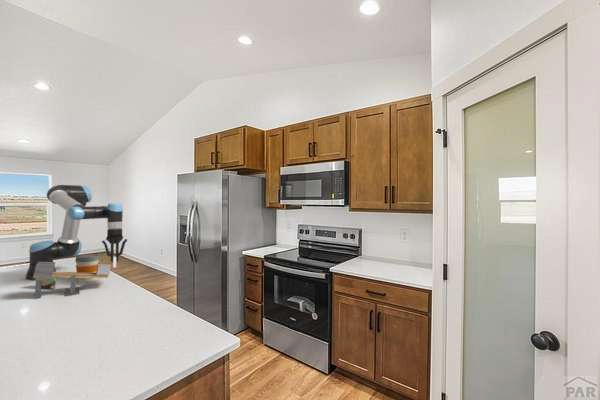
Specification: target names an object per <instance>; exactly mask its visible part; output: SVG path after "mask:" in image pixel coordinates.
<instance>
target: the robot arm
mask: <svg viewBox="0 0 600 400" xmlns="http://www.w3.org/2000/svg"><path fill="white" fill-rule="evenodd" d="M46 198H47V200H48V201H49V202H50V203H52V204H54V205H58V206H59V207H61V208H62V209H63V210H65V214H64V215H65V216H64V219H63V220H64V221H63V226H62V231H61V236H59V237H58V238H57V241H54V240H44V241H43V240H42V241H38V242H34V243H32V244H31V245H30V246H29V251H28V253H29V260H28V261H29V264H28V265H29V267H28V269H27V271H26V274H25V280H36V278H33V276H34V272H35V268H36V264H37V263H38V262H54V260H57V259H58V260H59V259H64V258H71V257H77V256H79V254H80V253H81V251H82V246H83V245H82V241H81V240H80V239H79V237H78V234H79V228H80V222H81V221H82V220H95V219H96V220H97V219H107V221H106V222H107V223H106V224H107V227H106V228H107V232H106V233H107V236H106V238H105V239H103V240H101V242H102V244H103V245H104V249H105V252H106V256H107V257H110V262H111V263H112V268H117V262H119V257H120V256H122V255H123V252H124V248H125V246H126V243H127V242H128V239H127V238H124V236H123V210H124V209H123V204H122V203H118V202H117V203H108V204H107V206H106V205H101V206H99V205H97V206H87V203H90V202H91V201H92V198H93V197H92V192H91V190H90V187H89V186H86V185H74V184H67V185H66V184H58V185H54V186H52V187H50V188H49V189H48V190H47V192H46ZM121 242H122V243H121ZM108 243H109V244H110V250H109V247H108V245H107V244H108ZM120 243H121V247H120V249H119V246H120ZM114 245H115V255H114ZM54 270H57V269H56V267H55V266H54Z"/></svg>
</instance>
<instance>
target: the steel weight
mask: <svg viewBox="0 0 600 400" xmlns="http://www.w3.org/2000/svg"><path fill="white" fill-rule="evenodd" d="M111 267H112V266H111V264H110V263H108V264H107V263H99V264H98V267H97V271H96V275H108V277H109V275H110V270H111Z"/></svg>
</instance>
